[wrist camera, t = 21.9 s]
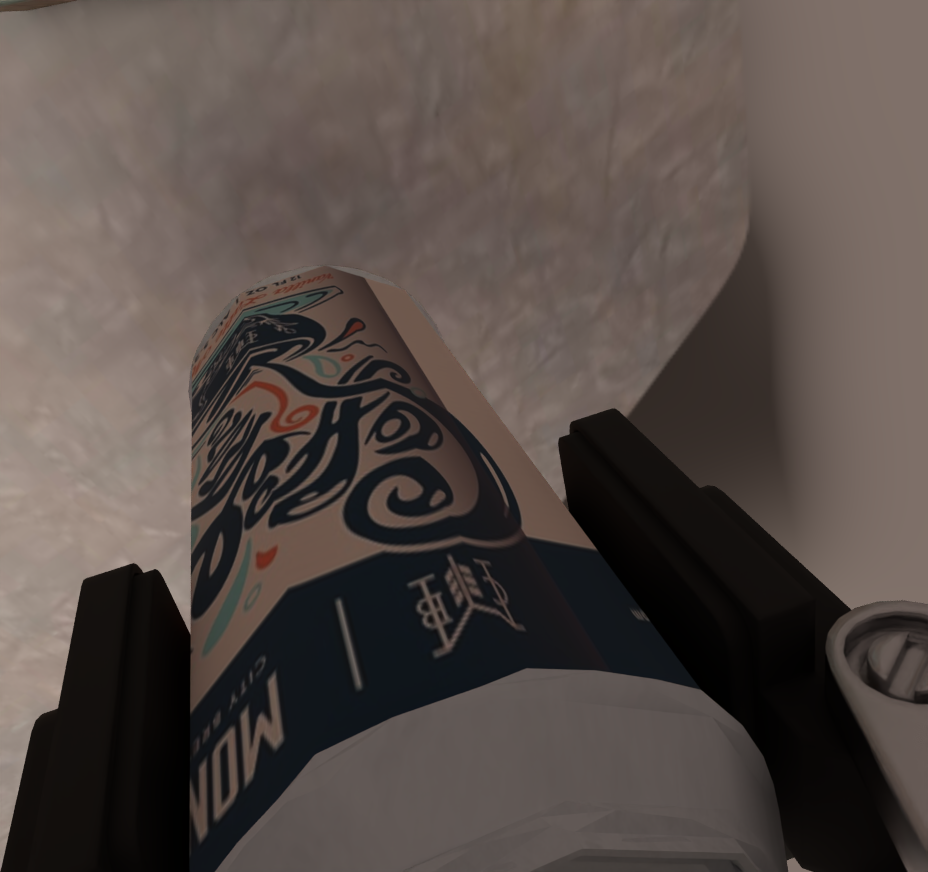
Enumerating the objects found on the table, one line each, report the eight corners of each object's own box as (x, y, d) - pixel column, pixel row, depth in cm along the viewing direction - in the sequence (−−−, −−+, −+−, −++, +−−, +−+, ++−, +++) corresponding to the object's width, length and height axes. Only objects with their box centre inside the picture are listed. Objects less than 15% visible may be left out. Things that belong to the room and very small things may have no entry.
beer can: (288, 201, 15) (518, 680, 4) (492, 347, 17) (965, 892, 6) (136, 419, 15) (21, 1246, 5) (349, 530, 18) (565, 1260, 7)
